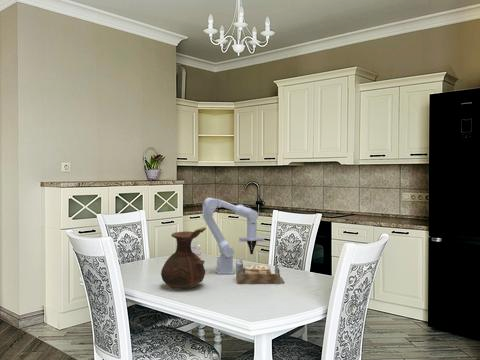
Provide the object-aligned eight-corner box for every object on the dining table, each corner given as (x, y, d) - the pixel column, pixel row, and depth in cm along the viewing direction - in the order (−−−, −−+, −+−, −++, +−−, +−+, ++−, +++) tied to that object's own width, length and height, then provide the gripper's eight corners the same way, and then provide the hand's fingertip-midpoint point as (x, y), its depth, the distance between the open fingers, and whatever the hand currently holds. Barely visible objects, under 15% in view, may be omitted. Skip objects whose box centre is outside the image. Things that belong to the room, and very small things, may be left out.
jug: (167, 294, 210) (167, 230, 210) (156, 283, 230) (157, 225, 230) (211, 289, 219) (211, 228, 219) (197, 279, 239) (197, 223, 238)
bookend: (277, 283, 232) (277, 269, 232) (274, 277, 244) (274, 264, 244) (284, 283, 232) (284, 269, 232) (281, 277, 245) (281, 264, 244)
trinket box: (273, 282, 236) (273, 267, 235) (245, 283, 232) (245, 268, 232) (266, 276, 249) (266, 262, 248) (239, 277, 245) (240, 263, 245)
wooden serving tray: (237, 284, 230) (237, 264, 230) (236, 278, 243) (236, 259, 243) (280, 283, 231) (280, 264, 231) (276, 277, 244) (276, 259, 244)
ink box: (201, 263, 281) (201, 239, 280) (198, 265, 276) (198, 241, 276) (188, 262, 283) (189, 239, 283) (185, 264, 279) (185, 240, 278)
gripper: (239, 231, 255) (239, 255, 255) (264, 231, 256) (264, 255, 256) (238, 229, 262) (238, 253, 262) (263, 229, 263) (263, 253, 263)
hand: (251, 254), depth 260 cm, fingers closed
